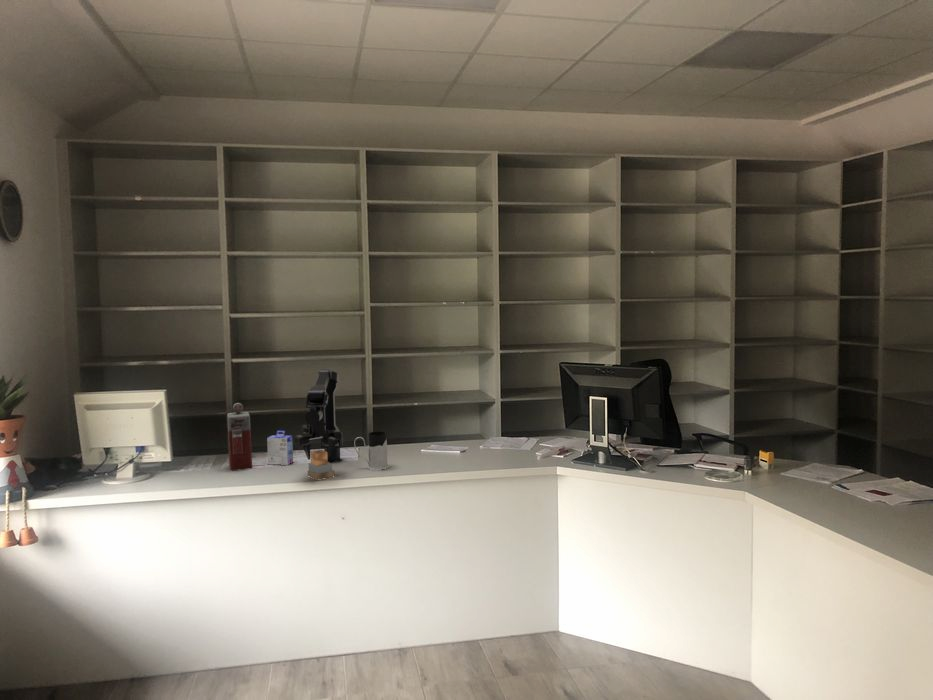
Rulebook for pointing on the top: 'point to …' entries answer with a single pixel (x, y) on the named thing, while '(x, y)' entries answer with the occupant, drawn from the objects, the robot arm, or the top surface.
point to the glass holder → (376, 450)
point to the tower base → (321, 475)
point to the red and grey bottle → (239, 438)
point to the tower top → (320, 468)
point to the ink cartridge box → (280, 449)
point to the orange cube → (319, 457)
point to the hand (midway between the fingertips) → (319, 457)
